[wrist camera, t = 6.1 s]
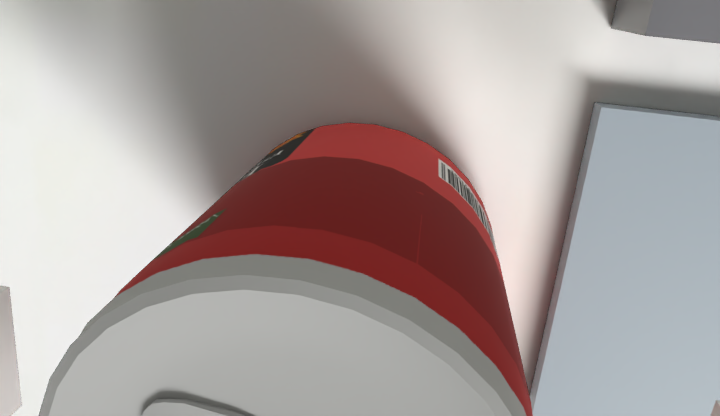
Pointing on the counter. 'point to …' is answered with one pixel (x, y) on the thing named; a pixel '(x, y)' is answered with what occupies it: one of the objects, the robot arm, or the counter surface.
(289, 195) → the canned food
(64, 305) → the counter surface
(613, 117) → the flat rectangular panel
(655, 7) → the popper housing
